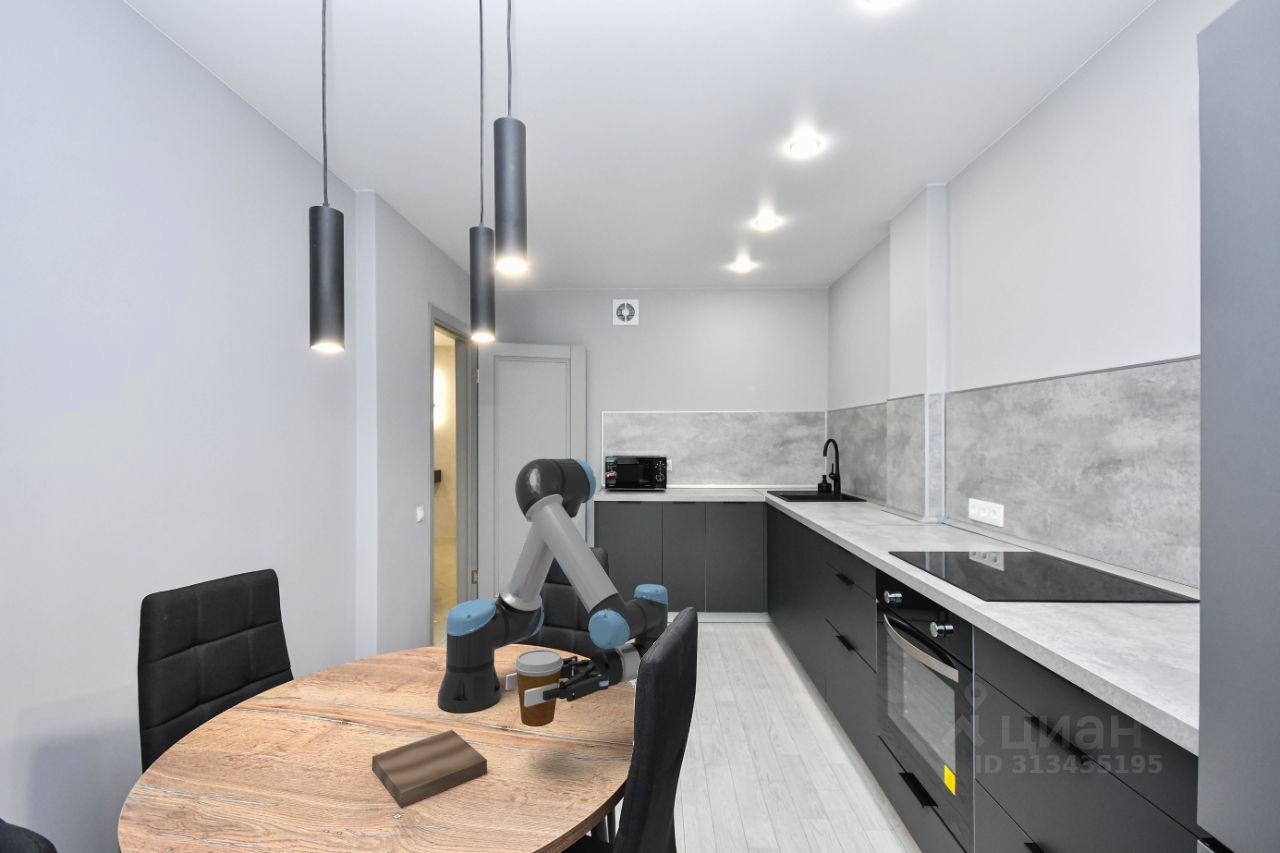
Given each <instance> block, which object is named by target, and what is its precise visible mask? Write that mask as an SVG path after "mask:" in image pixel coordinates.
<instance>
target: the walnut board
mask: <svg viewBox="0 0 1280 853" xmlns="http://www.w3.org/2000/svg"><path fill="white" fill-rule="evenodd" d="M371 758H372V760H371V762H372V763H371V770H372V771H373V773H374V774H375V775H376V777H377V778H378V779H379V781H380V782H381V784H382V785H383V786H384V787H385V789H386V791H388V792H389V795H390V796H392V798H393V799H394V801H395V802H396V803H397V805H398V806H399V807H400V808H405V807H407V806H409V805H412V804H415V803H417V802H420V801H423V800H424V799H427V798H429V797H432V796H435V795H437V794H440V793H442V792H444V791H446V790H449V789H452V788H454V787H456V786H459V785H462V784H464V783H467V782H470V781H472V780H474V779H476V778H479V777H481V776H484V775H486V774H487V773H488V759H487V758H486V757H484V756H483V755H482V754H481V753H480V752H478V750H476V749H475V748H474V747H473V746H472V745H471V744H470V743H468V742H467V740H465V739H464V738H462V736H460V735H459V734H458V733H457V732H456V731H455V730H453V729H449V730H447V731H444V732H441V733H438V734H435V735H432V736H428V737H426V738H422V739H420V740H417V741H414V742H411V743H407V744H405V745H402V746H399V747H396V748H392V749H390V750H386V751H383V752H381V753H378V754H376V755H372V757H371Z"/></svg>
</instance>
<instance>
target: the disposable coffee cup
mask: <svg viewBox="0 0 1280 853" xmlns="http://www.w3.org/2000/svg"><path fill="white" fill-rule="evenodd" d="M515 659H516V660H515V662H514V664H513V668H514V669H515V673H517V682H518V688H517V689H518V699H519V710H520V719H521V720H520V721H521V723H522V724H523V725H525V726H526V727H531V728H532V727H533V728H535V727H536V728H537V727H545V726H547V725H548V724H551V723H552V722H554V719H555V713H556V705H557V699H554V700H550V701H546V702H543V703H539V704H536V705H532V706H528V707H525V706H524V701H525V691H526V690H529V689H533V688H537V687H541V686H545V685H549V684H553V683H557V684H558V685H559V681H560V679H559V677H560V670H561V668H562V665H563V660H562V659H563V658H562V655H561V653H560V652H558V651H556V650H552V649H543V648H542V649H531V650H526V651H524V652H522V653H520V654H518V656H516V658H515Z"/></svg>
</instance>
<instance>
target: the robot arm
mask: <svg viewBox="0 0 1280 853" xmlns="http://www.w3.org/2000/svg"><path fill="white" fill-rule="evenodd" d="M596 479H597V478H596V476H595V474H594V470H593V469H592V467H591V466H590V465H589V464H588V463H587V462H586V461H584V460H581V459H577V458H576V459H575V458H573V457H572V458H571V457H567V458H537V459H532V460H531V461H529V462H528V463H526V464H525V465H524V466H523V467H522V468H521V469H520V471H519V472H518V474H517V477H516V479H515V486H514V491H515V497H516V503H517V504H518V505H517V506H518V507H519V509H520V511H521V513H522V515H523V516H524V518H525V520H526V521H527V522H530V523H531V525H530V528H529V531H528V533H527V536H526V539H525V541H524V543H523V546H522V549H521V552H520V554H519V557H518V559H517V561H516V565H515V567H514V570H513V573H512V575H511V578H510V580H509V584H508V583H507V584H505V585H503V586H502V587H501V589H500V592H499V594H498V596H497V599H496V601H493V600H491V599H487V598H478V599H477V598H476V599H475V600H473V599H472V600H467V601H463V602H461V603H459V604H457V605H454V607H452V608H451V609H450V610H449V612H448V614H447V622H446V627H445V630H446V655H445V656H446V657H445V658H446V659H445V661H446V662H445V663H446V664H445V672H444V676H443V678H442V681H441V684H440V687H439V690H438V694H437V705H438V707H439V708H440V709H441V710H443V711H445V712H450V713H472V712H473V713H474V712H478V711H482V710H485V709H489V708H490V707H491V706H494V705H495V704H497V703H498V702H500V699H501V697H502V688H501V687H502V686H501V682H500V681H499V680H500V679H499V676H498V674H497V671H496V670H497V669H496V667H495V656H496V655H495V652H496V650H498V649H500V648H505V647H508V646H510V645H513V644H515V643H519V642H523V641H525V640H527V639H529V638H531V637H532V636H534V635H536V633H538V632H539V630H540V629H541V627H542V625H543V623H544V619H545V612H543V610H544V604H543V599H542V597H541V595H540V593H541V591H542V589H543V587H544V583H545V581H546V578H547V576H548V573H549V572H550V568H551V565H552V562H553V560H554V558H555V560H556V562H557V563H558V565H559V567H560V568H561V570H562V572H563V574H564V575H565V577H566V578H567V579H568V581H569V584H570V586H572V588H573V590H574V592H575V593H576V595H577V596H578V598H579V599H580V601H581V603H582V604H583V606H584V607H585V610H586V611H587V612H588V614H589V616H590V620H589V621H588V623H589V624H588V631H589V637H590V639H591V641H592V643H594V645H595V646H597V647H598V648H600V649H598V650H595V652H594V653H593V654H592V657H591V658H590V659H581V660H579V657H578V655H574V656H573V655H572V656H570V657H567V658H561V659H562V660H563V665H562V668H561V670H560V677H559V684H557V683H553V684H549V685H545V686H541V687H537V688H533V689H529V690H526V691H525V701H524V706H525V707H528V706H532V705H536V704H539V703H543V702H546V701H550V700H554V699H556V700H557V699H559V700H566V702H568V703H571V702H574V701H578V700H580V699H582V698H585V697H587V696H589V695H593V694H594V693H597V692H599V691H600V692H601V691H604V690H605V691H606V690H609V687H614V686H617V685H619V684H628V682H631V681H634V680H637V679H636V678H637V670H638V666H639V662H640V660H641V658H642V657H643V655H644V654H645V653H646V652H647V651H648V649H649V648H650V647H651V646H652V645H653V643H654V642H655V641H656V640H657V639H658V638H659V637H660V635H661V634H662V633H663V632H664V631H665V629H666V628H667V627H668V624H669V623H668V616H669V602H668V601H669V600H668V590H667V588H666V587H665V586H664V585H661V584H656V583H655V584H654V583H646V584H645V583H644V584H639V585H637V587H636V588H635V589H634V595H633V598H634V599H632V600H628V601H625V600H624V599H623V596H621V594H620V593H619V591H618V590H617V588H616V586H614V584H613V582H612V581H611V579H610V577H609V575H608V574H607V573H606V571H605V570H604V568H603V566H602V565H601V563H600V562H599V560H598V559H597V557H596V556H595V554H594V553H593V550H591V548H590V547H589V544H588V543H587V542H586V540H585V539H584V537H583V536H582V534H581V532H580V530H579V529H578V528H577V526H576V524H575V523H574V521H573V520H572V519H574V518H576V517H577V516H578V513H579V509H580V508H581V505H582V504H586V503H587V502H589V501H590V500H591V499H593V496H594V495H595V492H596V490H597V489H596V488H597V481H596ZM667 629H668V628H667ZM631 640H634V641H633V642H629V641H631ZM562 679H563V680H562ZM564 679H567V680H565V681H564ZM515 689H518V682H517V672H515V673H510V674H506V675H505V690H507V691H510V690H515Z"/></svg>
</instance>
